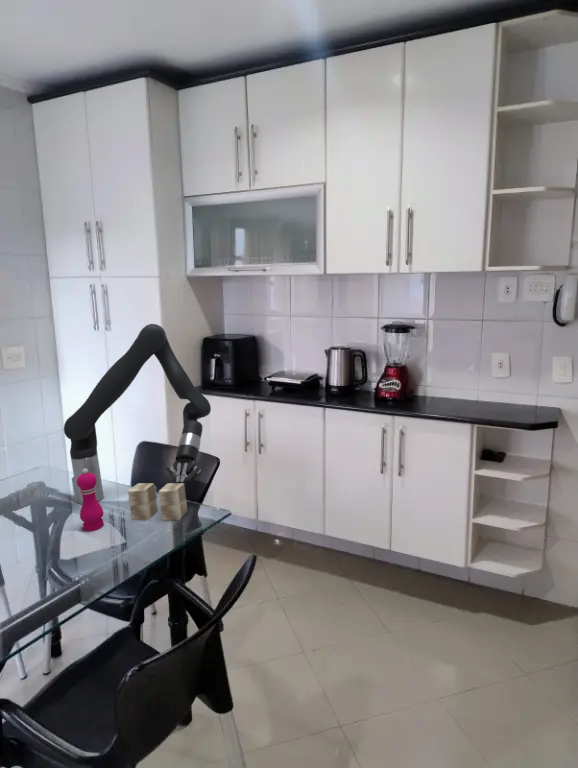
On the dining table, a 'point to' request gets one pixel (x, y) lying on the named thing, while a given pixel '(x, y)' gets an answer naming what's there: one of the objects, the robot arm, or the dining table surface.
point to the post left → (142, 501)
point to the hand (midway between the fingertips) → (178, 493)
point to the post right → (173, 501)
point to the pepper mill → (89, 502)
